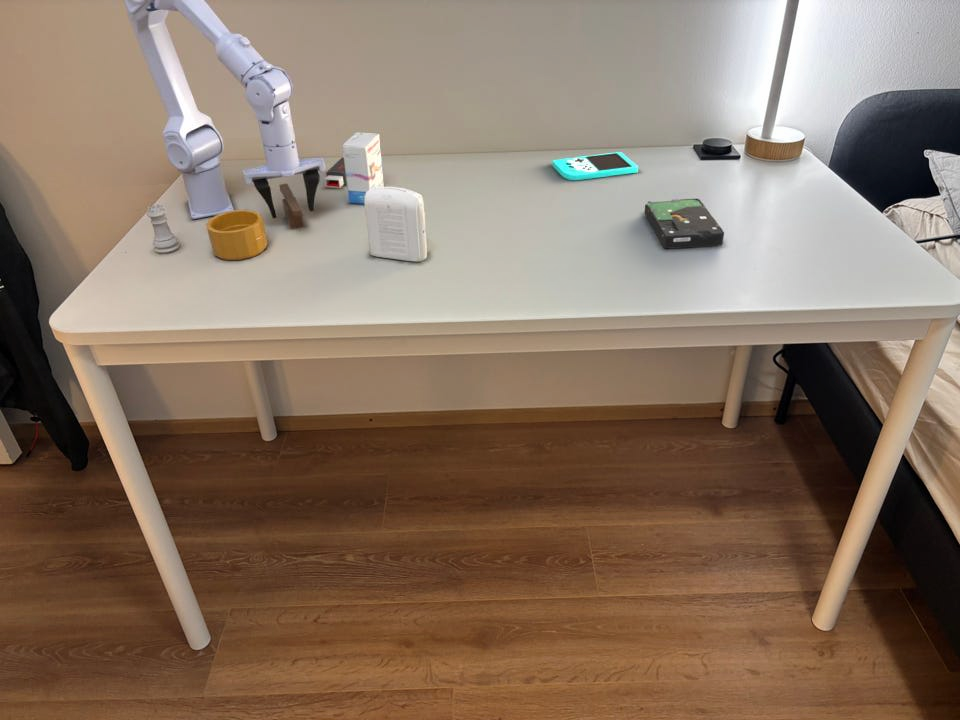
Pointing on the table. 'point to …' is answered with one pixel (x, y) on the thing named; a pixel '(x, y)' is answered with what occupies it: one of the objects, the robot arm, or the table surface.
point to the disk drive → (683, 223)
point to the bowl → (237, 234)
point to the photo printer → (396, 223)
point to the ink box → (362, 165)
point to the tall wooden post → (291, 207)
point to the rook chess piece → (162, 231)
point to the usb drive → (336, 175)
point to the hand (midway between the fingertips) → (292, 212)
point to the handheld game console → (594, 166)
